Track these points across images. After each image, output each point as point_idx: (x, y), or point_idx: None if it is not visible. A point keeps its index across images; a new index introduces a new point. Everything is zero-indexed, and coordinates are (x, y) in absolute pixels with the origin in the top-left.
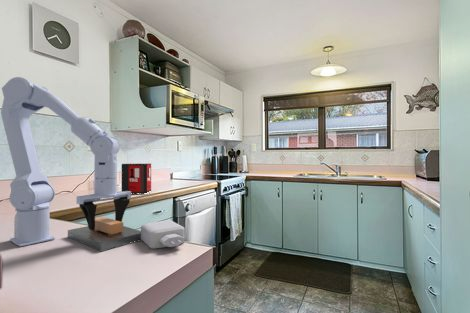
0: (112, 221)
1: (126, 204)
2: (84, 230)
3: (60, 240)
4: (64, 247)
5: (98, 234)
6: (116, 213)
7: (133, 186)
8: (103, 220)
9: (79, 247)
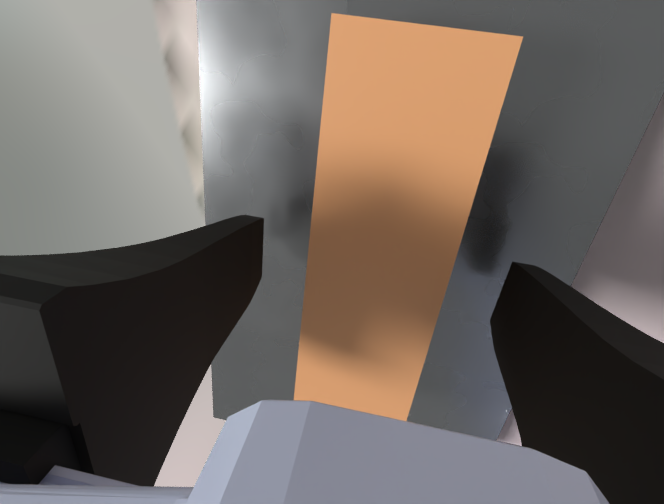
0: (372, 193)
1: (48, 261)
2: (440, 391)
3: None
4: (660, 291)
5: (487, 210)
6: (219, 329)
7: None
8: (384, 319)
9: (635, 198)
